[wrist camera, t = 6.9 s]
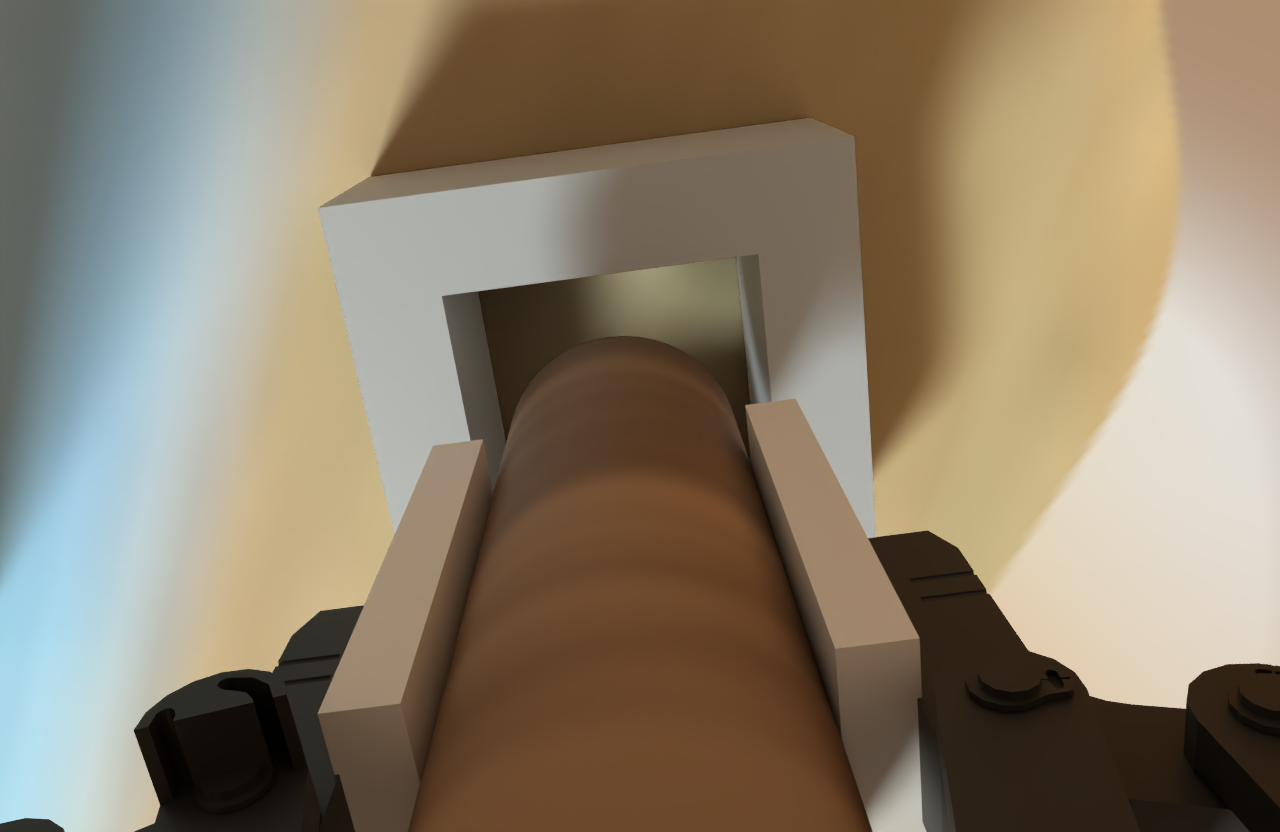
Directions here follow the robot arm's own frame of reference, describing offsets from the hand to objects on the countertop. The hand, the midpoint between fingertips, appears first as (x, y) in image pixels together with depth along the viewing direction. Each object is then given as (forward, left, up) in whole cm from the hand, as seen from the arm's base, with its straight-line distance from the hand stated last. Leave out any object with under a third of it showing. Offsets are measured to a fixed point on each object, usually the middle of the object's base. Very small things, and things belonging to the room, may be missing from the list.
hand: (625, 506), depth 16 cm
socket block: (0, 0, -7) cm, 7 cm away
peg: (0, 0, -3) cm, 3 cm away
